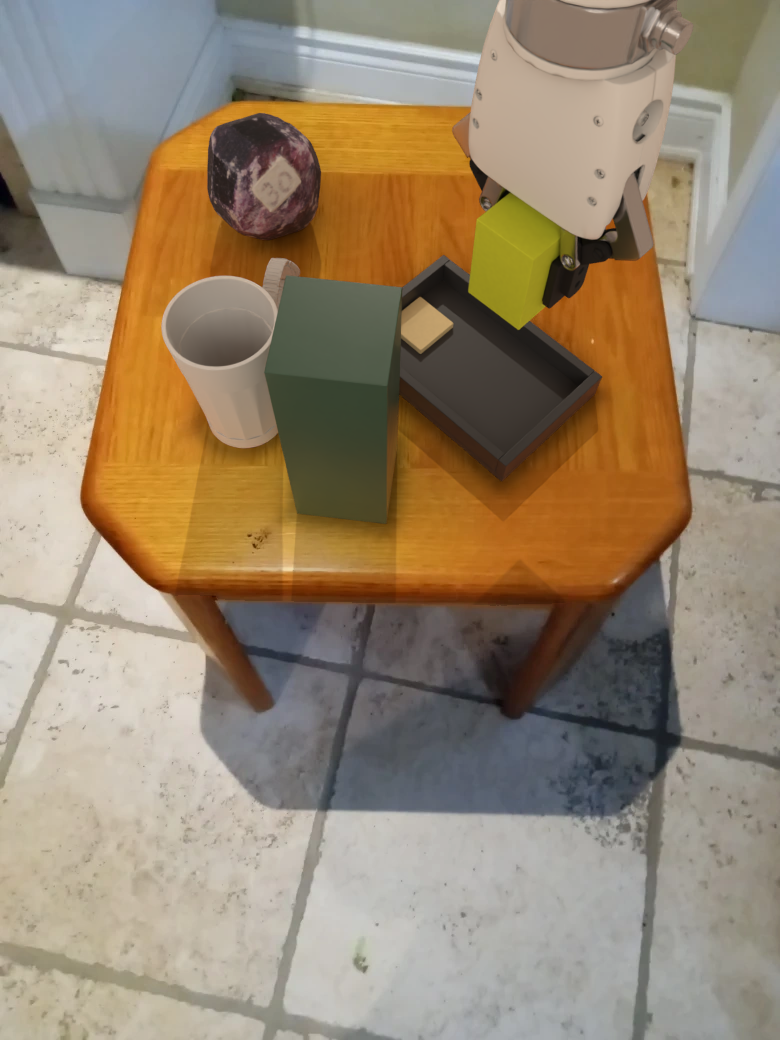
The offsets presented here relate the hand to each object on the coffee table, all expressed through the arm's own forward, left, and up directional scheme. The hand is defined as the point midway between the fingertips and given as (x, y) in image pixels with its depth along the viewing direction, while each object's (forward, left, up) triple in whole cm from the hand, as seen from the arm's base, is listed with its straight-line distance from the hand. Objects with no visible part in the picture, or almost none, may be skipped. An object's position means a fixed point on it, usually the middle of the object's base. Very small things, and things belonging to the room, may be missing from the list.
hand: (530, 270), depth 54 cm
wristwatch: (+19, +7, -15) cm, 26 cm away
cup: (+13, +16, -15) cm, 26 cm away
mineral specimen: (+28, +1, -15) cm, 32 cm away
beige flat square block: (+9, 0, -14) cm, 17 cm away
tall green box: (+3, +14, -15) cm, 21 cm away
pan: (+3, 0, -15) cm, 15 cm away
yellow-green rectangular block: (0, 0, -1) cm, 1 cm away
